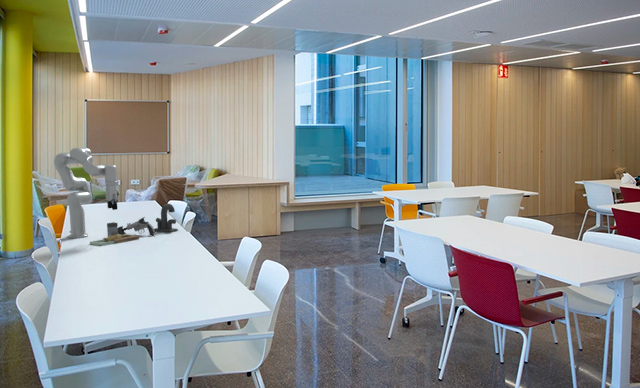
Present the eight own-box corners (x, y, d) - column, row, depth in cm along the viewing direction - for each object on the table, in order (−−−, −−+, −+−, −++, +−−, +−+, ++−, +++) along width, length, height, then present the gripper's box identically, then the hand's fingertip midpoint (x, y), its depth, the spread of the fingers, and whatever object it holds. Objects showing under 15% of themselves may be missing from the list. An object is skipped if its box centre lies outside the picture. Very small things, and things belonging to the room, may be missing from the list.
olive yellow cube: (113, 240, 373) (113, 235, 373) (118, 240, 377) (118, 234, 376) (117, 241, 371) (116, 235, 371) (122, 240, 374) (122, 234, 374)
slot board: (103, 241, 373) (103, 238, 373) (126, 237, 387) (126, 234, 387) (115, 244, 365) (115, 240, 364) (139, 239, 379) (139, 236, 379)
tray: (90, 244, 363) (89, 241, 363) (104, 242, 372) (104, 239, 372) (100, 246, 357) (99, 243, 357) (114, 243, 366) (114, 240, 365)
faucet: (184, 229, 419) (183, 202, 417) (171, 232, 404) (170, 205, 402) (164, 228, 426) (163, 202, 423) (151, 231, 411) (149, 204, 409)
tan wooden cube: (107, 242, 370) (107, 236, 369) (113, 241, 373) (112, 235, 373) (111, 242, 368) (111, 236, 367) (116, 241, 371) (116, 235, 370)
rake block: (107, 239, 382) (106, 223, 381) (114, 238, 387) (113, 222, 385) (111, 239, 380) (110, 223, 379) (118, 238, 384) (117, 222, 383)
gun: (153, 234, 391) (145, 215, 391) (122, 248, 398) (114, 229, 397) (157, 233, 397) (149, 214, 396) (126, 247, 403) (118, 227, 402)
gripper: (101, 183, 379) (102, 208, 381) (109, 184, 365) (110, 210, 367) (112, 182, 384) (114, 207, 386) (121, 184, 370) (122, 209, 372)
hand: (112, 208), depth 376 cm, fingers open, 9 cm apart
